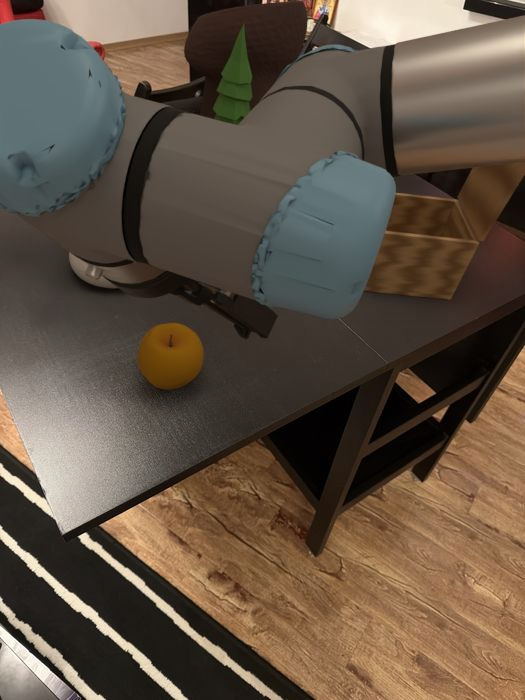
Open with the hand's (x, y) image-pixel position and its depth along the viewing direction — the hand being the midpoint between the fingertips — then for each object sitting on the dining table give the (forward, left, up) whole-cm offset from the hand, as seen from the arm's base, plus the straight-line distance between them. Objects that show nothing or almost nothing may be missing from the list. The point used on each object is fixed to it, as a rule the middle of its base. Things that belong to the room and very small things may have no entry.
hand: (195, 303), depth 55 cm
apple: (+3, +1, -15) cm, 15 cm away
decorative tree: (+28, -48, -15) cm, 57 cm away
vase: (+42, -74, -15) cm, 86 cm away
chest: (-14, -44, -15) cm, 48 cm away
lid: (-21, -48, +6) cm, 52 cm away
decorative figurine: (+26, -13, -15) cm, 33 cm away
